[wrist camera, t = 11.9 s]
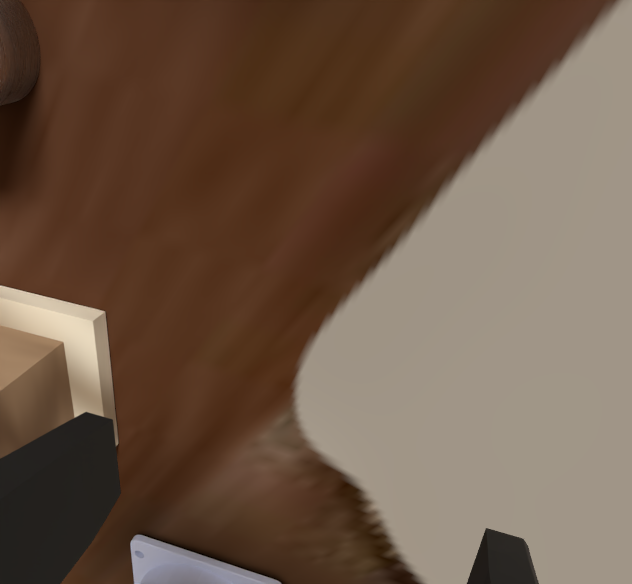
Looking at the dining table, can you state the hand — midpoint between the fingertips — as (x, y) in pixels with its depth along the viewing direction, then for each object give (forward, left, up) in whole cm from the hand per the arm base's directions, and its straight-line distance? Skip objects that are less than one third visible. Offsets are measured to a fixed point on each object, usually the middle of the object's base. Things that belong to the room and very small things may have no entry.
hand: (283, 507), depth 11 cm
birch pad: (-7, +14, -9) cm, 18 cm away
